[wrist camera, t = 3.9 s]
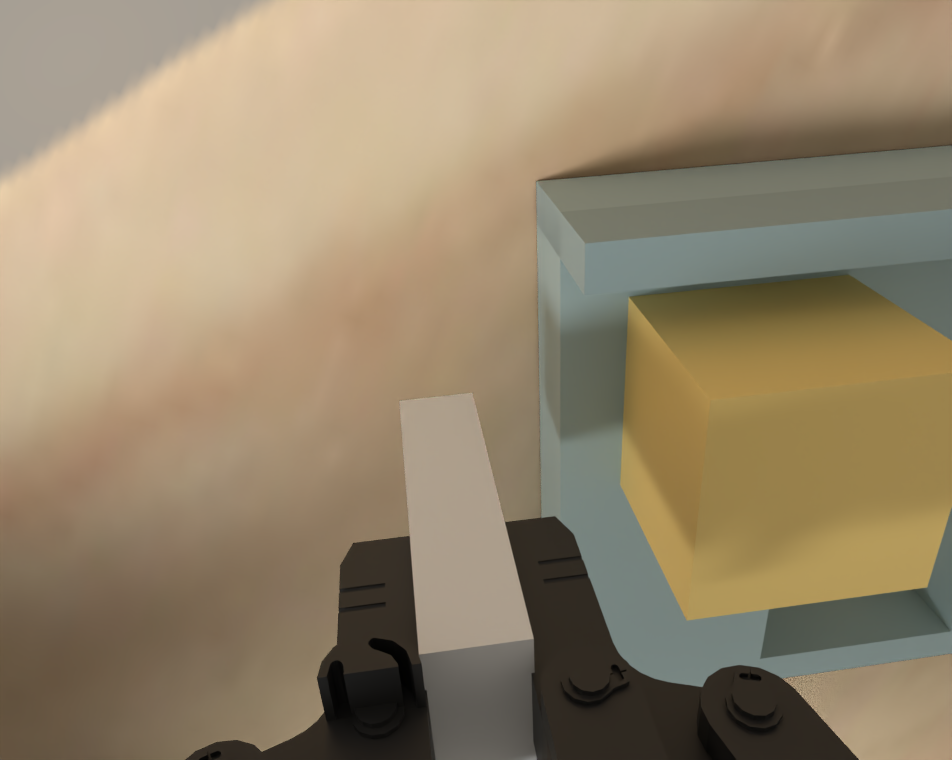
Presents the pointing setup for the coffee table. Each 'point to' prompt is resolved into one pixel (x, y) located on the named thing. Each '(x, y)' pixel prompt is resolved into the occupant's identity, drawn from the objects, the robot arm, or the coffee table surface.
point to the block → (786, 443)
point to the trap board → (714, 266)
